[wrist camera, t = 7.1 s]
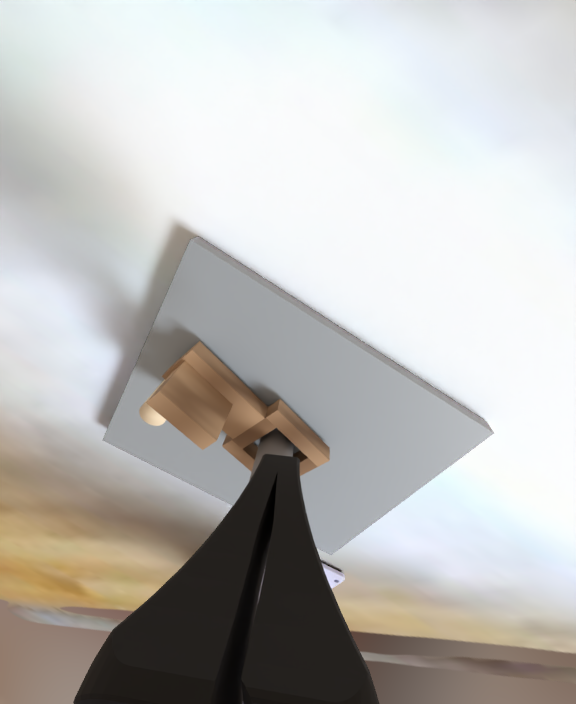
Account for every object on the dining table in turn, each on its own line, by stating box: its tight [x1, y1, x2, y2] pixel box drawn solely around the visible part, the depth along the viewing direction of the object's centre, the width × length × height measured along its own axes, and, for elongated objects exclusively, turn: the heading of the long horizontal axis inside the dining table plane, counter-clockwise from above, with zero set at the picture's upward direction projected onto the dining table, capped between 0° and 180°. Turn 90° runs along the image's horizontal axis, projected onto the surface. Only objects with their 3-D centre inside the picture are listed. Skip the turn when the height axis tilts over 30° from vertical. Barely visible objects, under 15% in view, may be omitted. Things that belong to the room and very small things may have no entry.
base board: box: [103, 236, 494, 555], centre depth 21 cm, size 18×22×6 cm
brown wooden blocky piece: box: [146, 341, 330, 476], centre depth 20 cm, size 11×5×4 cm, turn 42°
